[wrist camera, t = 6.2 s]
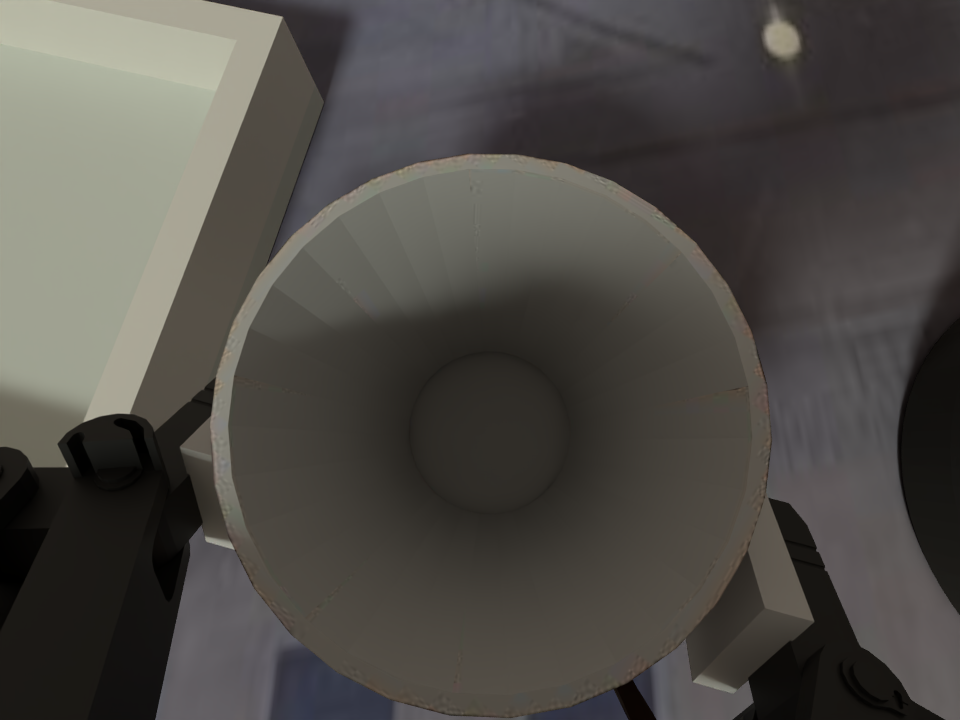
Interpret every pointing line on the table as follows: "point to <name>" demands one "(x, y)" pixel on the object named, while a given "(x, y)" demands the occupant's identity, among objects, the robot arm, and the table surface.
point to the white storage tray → (135, 200)
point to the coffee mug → (491, 436)
